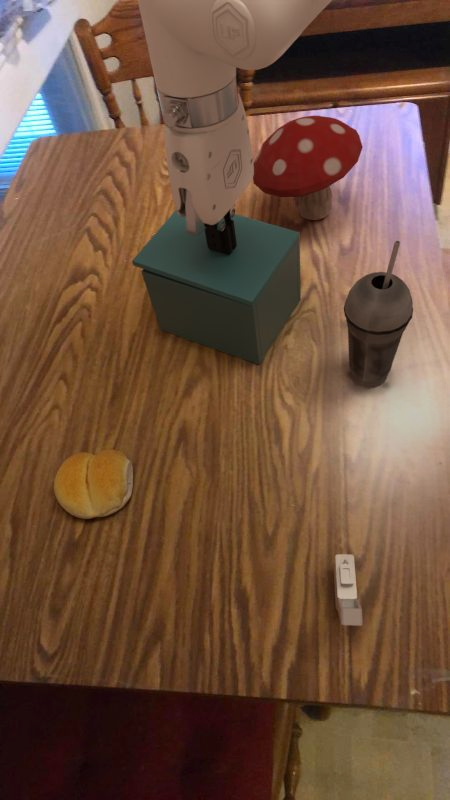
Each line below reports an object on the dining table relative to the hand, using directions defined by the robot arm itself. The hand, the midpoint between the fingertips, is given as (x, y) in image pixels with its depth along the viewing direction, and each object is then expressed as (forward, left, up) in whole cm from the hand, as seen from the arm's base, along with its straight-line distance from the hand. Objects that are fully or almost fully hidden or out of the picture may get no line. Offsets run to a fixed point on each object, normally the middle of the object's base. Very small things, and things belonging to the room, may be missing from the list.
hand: (222, 248), depth 69 cm
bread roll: (+28, +10, -12) cm, 32 cm away
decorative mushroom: (-22, -8, -12) cm, 26 cm away
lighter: (+16, +37, -12) cm, 42 cm away
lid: (0, -1, -1) cm, 1 cm away
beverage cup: (-6, +20, -12) cm, 24 cm away
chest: (0, 0, -12) cm, 12 cm away
